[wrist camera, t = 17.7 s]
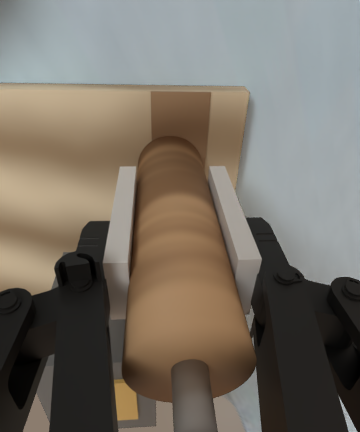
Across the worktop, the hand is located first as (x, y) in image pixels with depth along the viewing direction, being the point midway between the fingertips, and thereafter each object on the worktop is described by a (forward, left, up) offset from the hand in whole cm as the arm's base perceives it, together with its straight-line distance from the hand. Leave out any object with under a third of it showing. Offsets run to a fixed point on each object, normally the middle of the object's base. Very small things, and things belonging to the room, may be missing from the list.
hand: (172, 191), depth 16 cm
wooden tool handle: (0, 0, -3) cm, 3 cm away
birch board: (+5, -6, -4) cm, 9 cm away
